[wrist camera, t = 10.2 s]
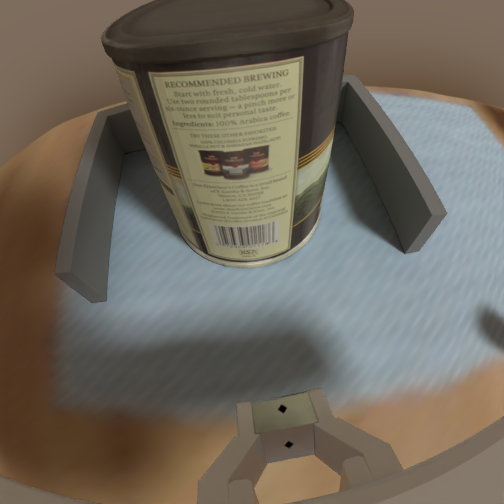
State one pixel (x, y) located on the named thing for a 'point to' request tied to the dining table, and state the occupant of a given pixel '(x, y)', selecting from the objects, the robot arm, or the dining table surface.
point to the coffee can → (236, 115)
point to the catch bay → (129, 140)
